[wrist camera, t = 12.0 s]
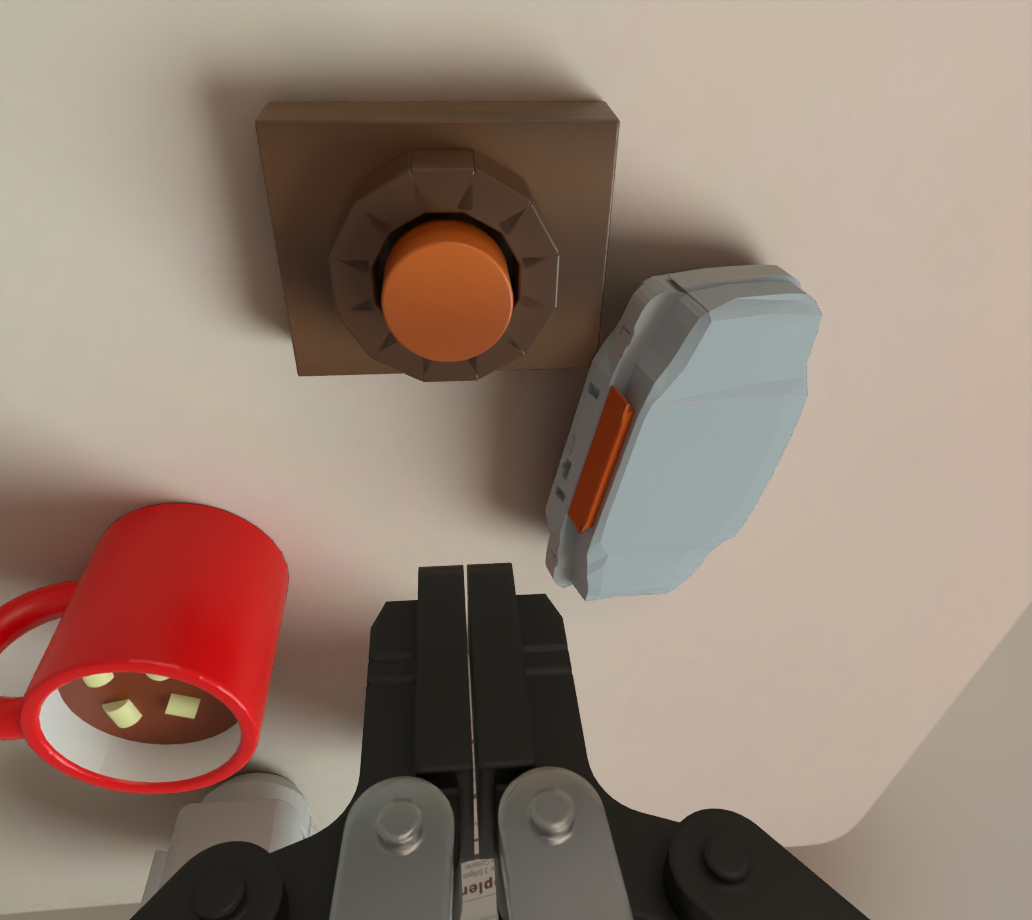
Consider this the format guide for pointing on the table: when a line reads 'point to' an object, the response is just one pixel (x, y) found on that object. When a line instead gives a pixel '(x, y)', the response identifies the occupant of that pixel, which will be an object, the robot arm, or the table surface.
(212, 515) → the mug
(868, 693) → the table surface
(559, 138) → the button block
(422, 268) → the button
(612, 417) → the grey case
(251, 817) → the cable organizer
